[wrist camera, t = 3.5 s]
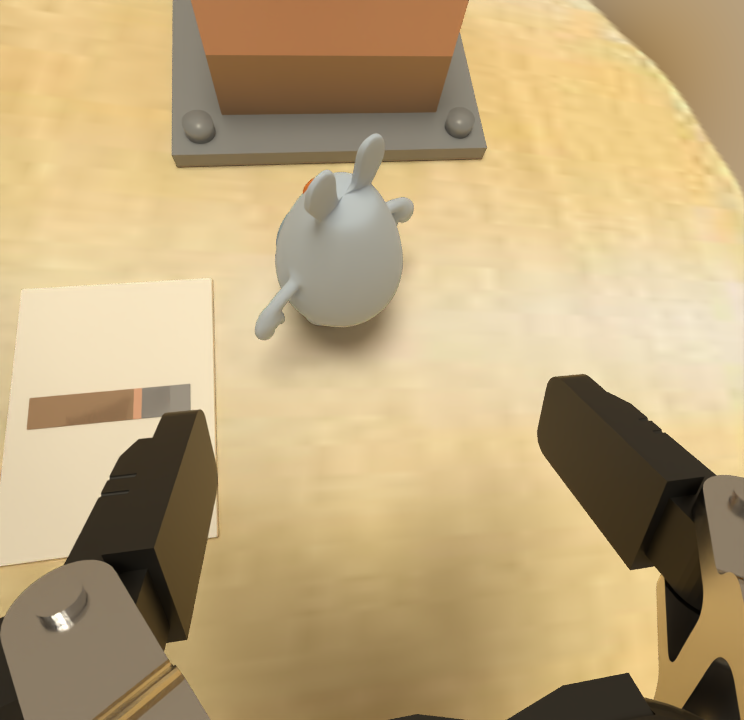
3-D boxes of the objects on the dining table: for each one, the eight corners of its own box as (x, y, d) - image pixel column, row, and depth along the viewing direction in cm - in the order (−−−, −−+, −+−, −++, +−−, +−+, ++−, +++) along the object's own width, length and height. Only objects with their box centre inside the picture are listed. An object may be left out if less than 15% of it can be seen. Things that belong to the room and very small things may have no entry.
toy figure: (361, 218, 28) (388, 27, 17) (433, 283, 27) (513, 130, 16) (230, 325, 25) (152, 183, 14) (306, 402, 24) (290, 320, 13)
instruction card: (-5, 566, 20) (-11, 567, 20) (25, 291, 24) (20, 288, 24) (218, 536, 22) (216, 537, 21) (212, 280, 26) (211, 276, 25)
